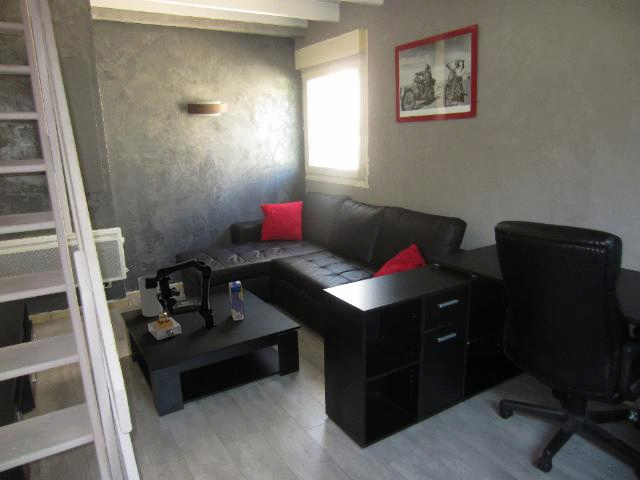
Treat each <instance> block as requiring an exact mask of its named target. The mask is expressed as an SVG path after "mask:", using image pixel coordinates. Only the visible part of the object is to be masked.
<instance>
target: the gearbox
mask: <svg viewBox="0 0 640 480" xmlns="http://www.w3.org/2000/svg"><path fill="white" fill-rule="evenodd" d="M167 318H168V322H167V323H164V324H160V320H159V319H157V320H155V321H152V322H148V323H147V327H148V332H149V333H150V334H151V335H152V336H153V337H154V338H155V339H156V340H157V341H159V340H163V339H167V338H172V337H174V336H177V335H180V334H182V326H181V324H180V323H179V322H177V321H176V320H175V319H174V318H173V317H172V316H169V317H167Z"/></svg>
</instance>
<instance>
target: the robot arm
mask: <svg viewBox="0 0 640 480" xmlns="http://www.w3.org/2000/svg"><path fill="white" fill-rule="evenodd" d="M192 267H193V268H195V269H196V270H197V271H200V272H201V276H202V299H201V301H199V302H198V304H199V310H197V312H199V315H200V316H201V317H202V318H203V323H204V324H202V326H203V328H205V329H206V330H208V329H211V328H214V327H217V324H216V323H215V319H214V310H213V308H211V307H210V302H209V294H210V292H209V291H210V278H211V274H212V270H213V265H212V264H211V263H209V262H205V261H203V260H199V259H197V258H191V259H188V260H185V261H182V262H178V263H176V264H167V265H160V266H159V267H158V269H157V270H156V274H155V275H156V276H155V277H151V278H149V277H147V278H146V279H145V280H146V281H145V288H146V289H155V288H157V287H158V285H159V287H160V289H159V291H160V293H157V294H156V298H157V300H158V301H159V303H160V304H161V306H162V309H163V310H164V311H166V310H167V312H168V313H169V314H170V315H172V314H173V312H174V309H173V306H174V305H175V304H177V303H178V300H177V299H176V298H174V297H180V296H181V290H179V289H177V288H176V287H175V286H171V285H170V281H172V280H173V276H170V275H171V274H173V273H176V272H179V271H182V270H185V269H190V268H192ZM158 281H159V284H158Z"/></svg>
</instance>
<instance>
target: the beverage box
mask: <svg viewBox="0 0 640 480" xmlns="http://www.w3.org/2000/svg"><path fill="white" fill-rule="evenodd" d="M228 288H229V289H228V290H229V291H228V293H229V301H230V302H229V303H230V312H231V313H230V314H231V315H230V316H231V317H232V321H239V320H240V321H241V320H245V308H244V307H245V306H244V295H243V293H244V292H243V286H242V283H241V281H240V280H236V281H229V282H228Z"/></svg>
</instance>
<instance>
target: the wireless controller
mask: <svg viewBox="0 0 640 480" xmlns="http://www.w3.org/2000/svg"><path fill="white" fill-rule="evenodd" d="M199 285H200V297H201V300H202V291H203V285H202V281H200V284H199ZM194 310H195V311H198V310H199V302H198V300H197V299H194V300H188V301H180V302H177V304H175V305H174V306H173V313H174V315H177V314H181V313H182V314H183V313H189V312H193V311H194ZM188 311H189V312H188Z"/></svg>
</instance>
